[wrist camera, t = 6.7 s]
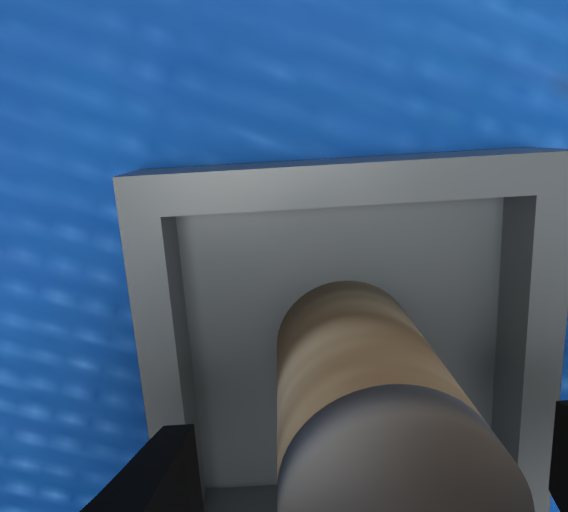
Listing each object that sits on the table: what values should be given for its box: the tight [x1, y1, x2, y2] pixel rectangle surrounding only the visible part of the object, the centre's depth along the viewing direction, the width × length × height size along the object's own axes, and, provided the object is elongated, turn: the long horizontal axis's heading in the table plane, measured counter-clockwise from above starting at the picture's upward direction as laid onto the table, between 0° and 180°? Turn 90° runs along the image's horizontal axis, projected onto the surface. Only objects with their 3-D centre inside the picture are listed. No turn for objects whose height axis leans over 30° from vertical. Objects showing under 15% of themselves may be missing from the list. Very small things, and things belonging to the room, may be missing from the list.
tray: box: [112, 147, 568, 512], centre depth 14 cm, size 11×11×2 cm
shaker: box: [277, 281, 535, 512], centre depth 11 cm, size 4×4×7 cm
